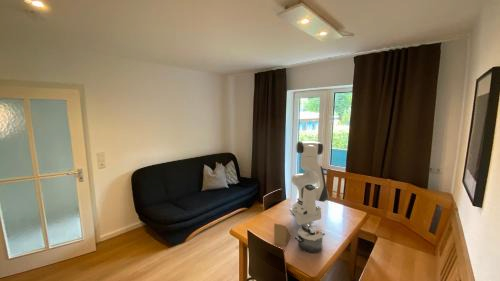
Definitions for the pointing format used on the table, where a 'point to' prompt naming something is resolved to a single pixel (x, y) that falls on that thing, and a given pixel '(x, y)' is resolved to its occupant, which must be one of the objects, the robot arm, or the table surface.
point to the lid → (310, 233)
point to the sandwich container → (281, 234)
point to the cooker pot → (309, 245)
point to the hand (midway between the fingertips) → (308, 227)
